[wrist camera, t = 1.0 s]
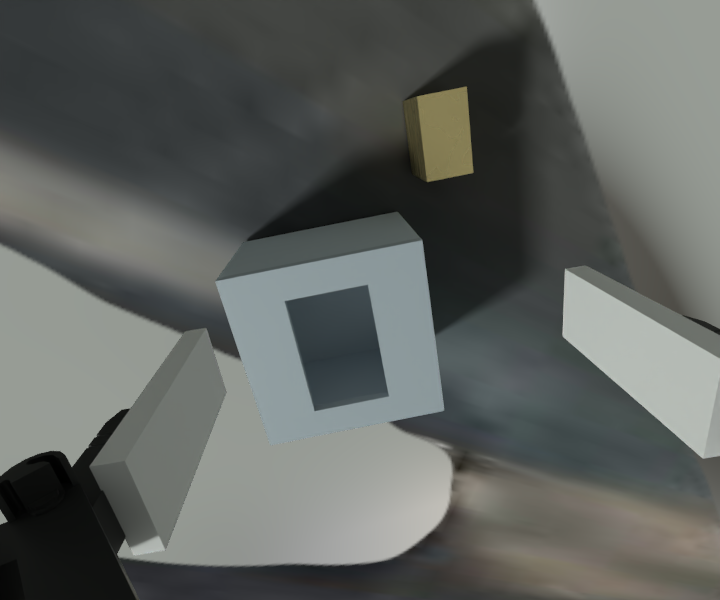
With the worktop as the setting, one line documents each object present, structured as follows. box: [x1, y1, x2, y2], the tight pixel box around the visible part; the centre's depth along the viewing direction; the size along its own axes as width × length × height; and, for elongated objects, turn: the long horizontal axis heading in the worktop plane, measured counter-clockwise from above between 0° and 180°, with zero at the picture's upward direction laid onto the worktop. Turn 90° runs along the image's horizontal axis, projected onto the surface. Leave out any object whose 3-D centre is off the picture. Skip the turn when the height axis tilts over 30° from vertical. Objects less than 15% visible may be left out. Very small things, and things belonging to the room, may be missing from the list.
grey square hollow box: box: [215, 212, 444, 445], centre depth 31 cm, size 12×12×9 cm
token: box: [403, 87, 473, 182], centre depth 28 cm, size 5×3×5 cm, turn 10°
